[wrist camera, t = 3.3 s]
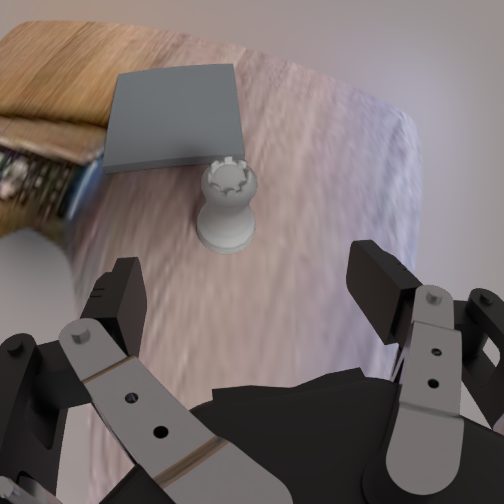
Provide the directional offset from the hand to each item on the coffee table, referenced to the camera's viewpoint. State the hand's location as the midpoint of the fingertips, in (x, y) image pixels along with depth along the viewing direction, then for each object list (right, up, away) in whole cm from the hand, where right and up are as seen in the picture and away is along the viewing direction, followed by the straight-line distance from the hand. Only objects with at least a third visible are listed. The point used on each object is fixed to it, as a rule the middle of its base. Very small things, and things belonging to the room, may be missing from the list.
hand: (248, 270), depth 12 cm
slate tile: (-7, +14, +16) cm, 22 cm away
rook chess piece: (-2, +2, +13) cm, 14 cm away
